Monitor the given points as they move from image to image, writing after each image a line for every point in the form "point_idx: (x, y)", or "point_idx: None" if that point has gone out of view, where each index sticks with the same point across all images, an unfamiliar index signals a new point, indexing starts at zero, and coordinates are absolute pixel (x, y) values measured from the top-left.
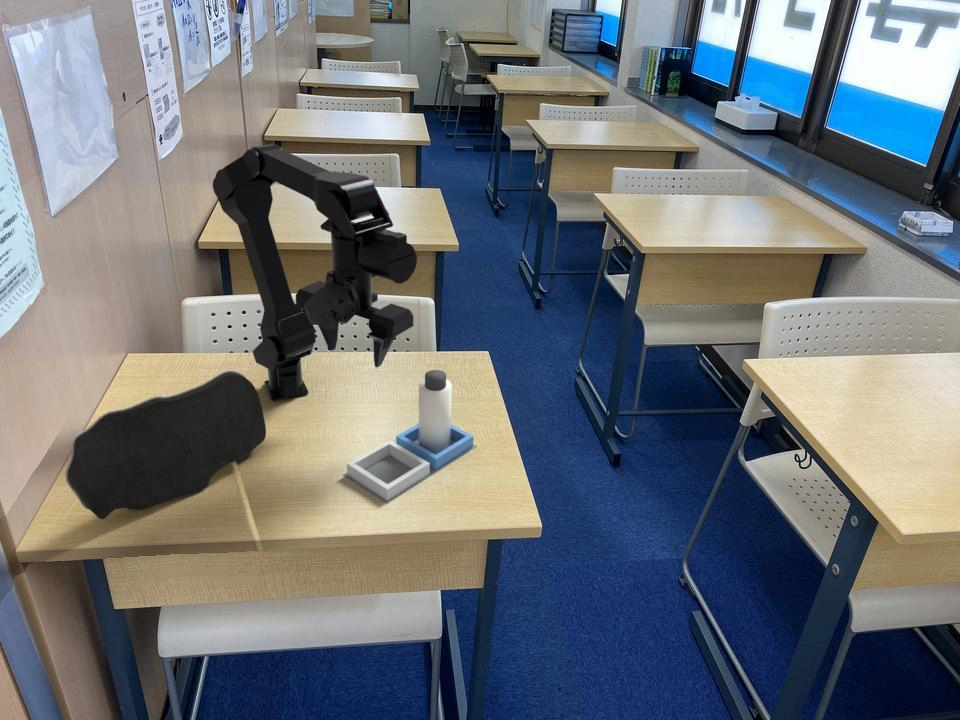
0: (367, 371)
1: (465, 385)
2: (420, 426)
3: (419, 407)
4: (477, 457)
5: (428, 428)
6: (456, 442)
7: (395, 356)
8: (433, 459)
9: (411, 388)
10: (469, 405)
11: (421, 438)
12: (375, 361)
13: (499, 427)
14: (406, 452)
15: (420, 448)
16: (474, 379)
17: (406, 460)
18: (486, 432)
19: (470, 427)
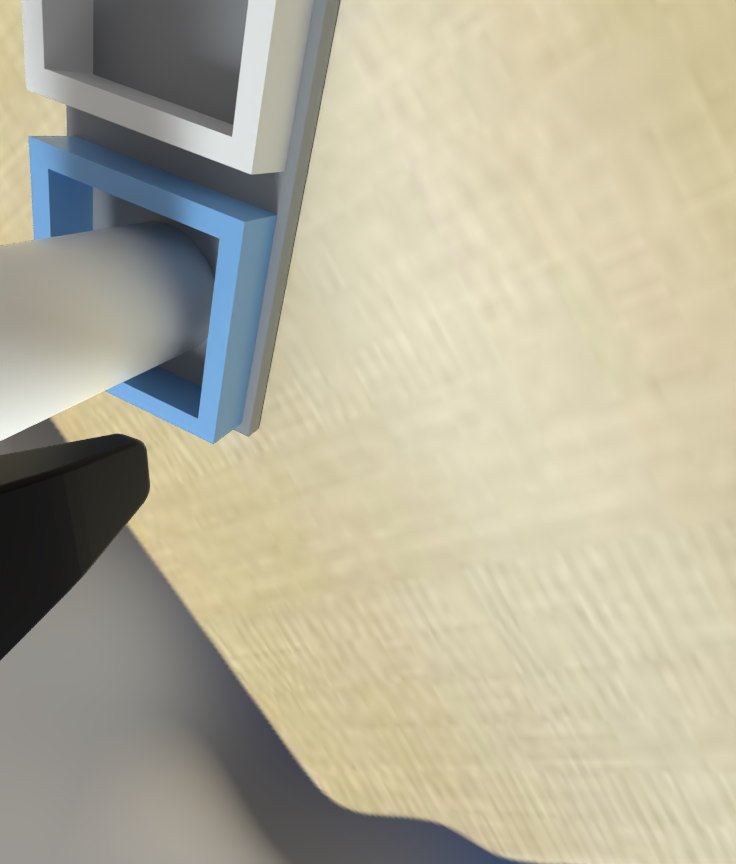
0: (703, 748)
1: (303, 681)
2: (94, 257)
3: (10, 288)
4: None
5: (39, 240)
6: None
7: (623, 843)
8: (50, 141)
9: (457, 648)
10: (236, 580)
11: (132, 240)
12: (58, 454)
13: None
14: (136, 112)
15: (113, 179)
16: (298, 713)
17: (155, 101)
18: None
19: (168, 464)
